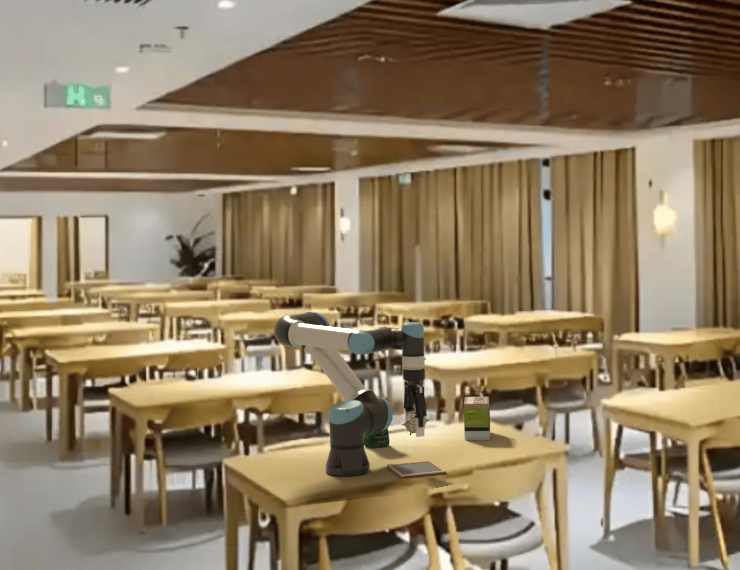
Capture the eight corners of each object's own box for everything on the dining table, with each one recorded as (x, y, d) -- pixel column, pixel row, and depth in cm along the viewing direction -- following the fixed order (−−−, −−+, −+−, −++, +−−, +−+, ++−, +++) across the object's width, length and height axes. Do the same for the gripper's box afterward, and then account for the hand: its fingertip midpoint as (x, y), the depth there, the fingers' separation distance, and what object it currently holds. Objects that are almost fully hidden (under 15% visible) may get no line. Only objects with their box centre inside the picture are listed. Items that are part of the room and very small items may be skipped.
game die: (420, 445, 310) (426, 425, 304) (396, 436, 312) (402, 416, 306) (427, 428, 317) (433, 408, 311) (404, 419, 319) (410, 399, 313)
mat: (401, 478, 303) (401, 475, 303) (386, 467, 318) (386, 464, 318) (446, 473, 307) (446, 471, 307) (430, 462, 322) (430, 460, 322)
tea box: (465, 432, 371) (464, 396, 370) (490, 432, 370) (489, 396, 369) (464, 440, 356) (463, 402, 355) (490, 440, 355) (489, 402, 354)
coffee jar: (370, 449, 345) (369, 400, 344) (360, 445, 352) (359, 397, 351) (393, 446, 349) (391, 398, 348) (382, 442, 356) (381, 395, 355)
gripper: (435, 371, 301) (437, 439, 302) (413, 363, 322) (415, 426, 324) (413, 373, 299) (415, 441, 300) (393, 364, 320) (394, 428, 321)
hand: (415, 433), depth 312 cm, fingers closed on game die, 9 cm apart
